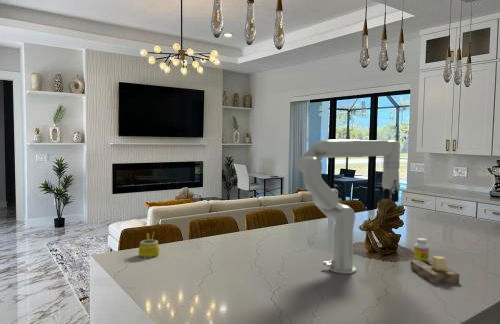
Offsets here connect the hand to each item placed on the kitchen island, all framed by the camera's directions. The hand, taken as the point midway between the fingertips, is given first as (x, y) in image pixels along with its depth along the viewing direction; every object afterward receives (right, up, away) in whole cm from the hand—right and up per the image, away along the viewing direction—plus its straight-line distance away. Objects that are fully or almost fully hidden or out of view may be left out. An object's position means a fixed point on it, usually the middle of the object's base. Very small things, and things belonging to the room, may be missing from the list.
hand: (390, 200), depth 188 cm
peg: (+16, -34, -16) cm, 41 cm away
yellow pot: (-124, -32, +19) cm, 130 cm away
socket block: (+16, -34, -12) cm, 39 cm away
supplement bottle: (+18, -33, +6) cm, 38 cm away
